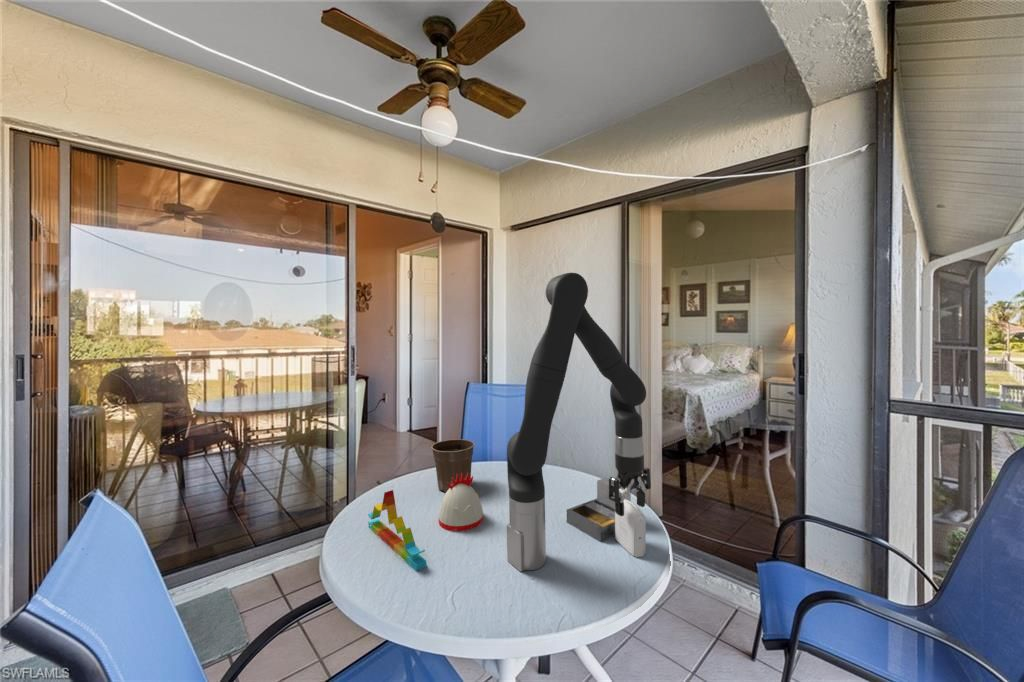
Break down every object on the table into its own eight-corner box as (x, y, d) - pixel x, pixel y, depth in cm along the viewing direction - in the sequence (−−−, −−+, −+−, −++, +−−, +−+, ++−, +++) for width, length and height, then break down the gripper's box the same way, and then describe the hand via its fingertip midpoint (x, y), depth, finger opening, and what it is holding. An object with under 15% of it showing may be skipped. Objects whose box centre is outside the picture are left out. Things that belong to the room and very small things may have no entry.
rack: (600, 542, 114) (600, 503, 114) (566, 522, 126) (566, 487, 126) (640, 524, 124) (639, 488, 124) (605, 507, 136) (604, 474, 135)
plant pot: (430, 481, 161) (429, 441, 160) (470, 476, 165) (469, 436, 165) (435, 498, 145) (433, 453, 144) (479, 492, 150) (478, 448, 149)
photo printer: (648, 555, 107) (648, 509, 107) (634, 559, 106) (633, 512, 106) (626, 536, 117) (625, 494, 117) (612, 539, 116) (612, 496, 115)
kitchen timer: (487, 527, 124) (486, 478, 124) (441, 534, 120) (440, 484, 120) (478, 507, 138) (476, 463, 137) (436, 513, 134) (435, 468, 133)
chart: (427, 567, 105) (425, 509, 104) (416, 572, 103) (414, 514, 102) (378, 524, 128) (376, 477, 127) (368, 527, 126) (366, 480, 125)
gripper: (622, 461, 103) (624, 523, 104) (657, 449, 111) (659, 507, 112) (600, 453, 109) (602, 513, 110) (635, 443, 117) (636, 498, 118)
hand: (630, 510), depth 111 cm, fingers open, 8 cm apart
